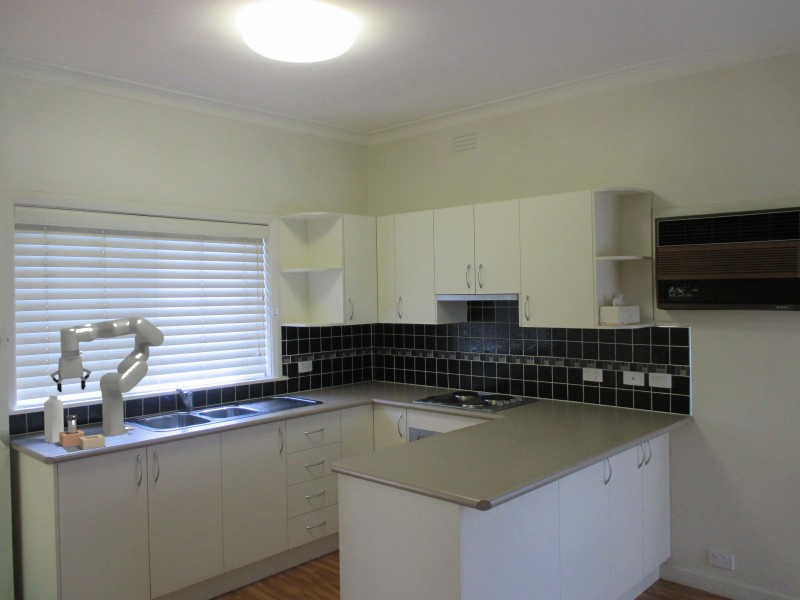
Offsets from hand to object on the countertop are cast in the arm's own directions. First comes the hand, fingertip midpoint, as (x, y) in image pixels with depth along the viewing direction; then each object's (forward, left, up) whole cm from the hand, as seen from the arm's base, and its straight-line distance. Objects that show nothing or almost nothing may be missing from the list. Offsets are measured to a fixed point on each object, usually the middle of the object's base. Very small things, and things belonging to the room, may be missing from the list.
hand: (71, 390), depth 308 cm
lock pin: (0, +1, -25) cm, 25 cm away
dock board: (-2, +7, -26) cm, 27 cm away
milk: (+5, -16, -26) cm, 31 cm away
